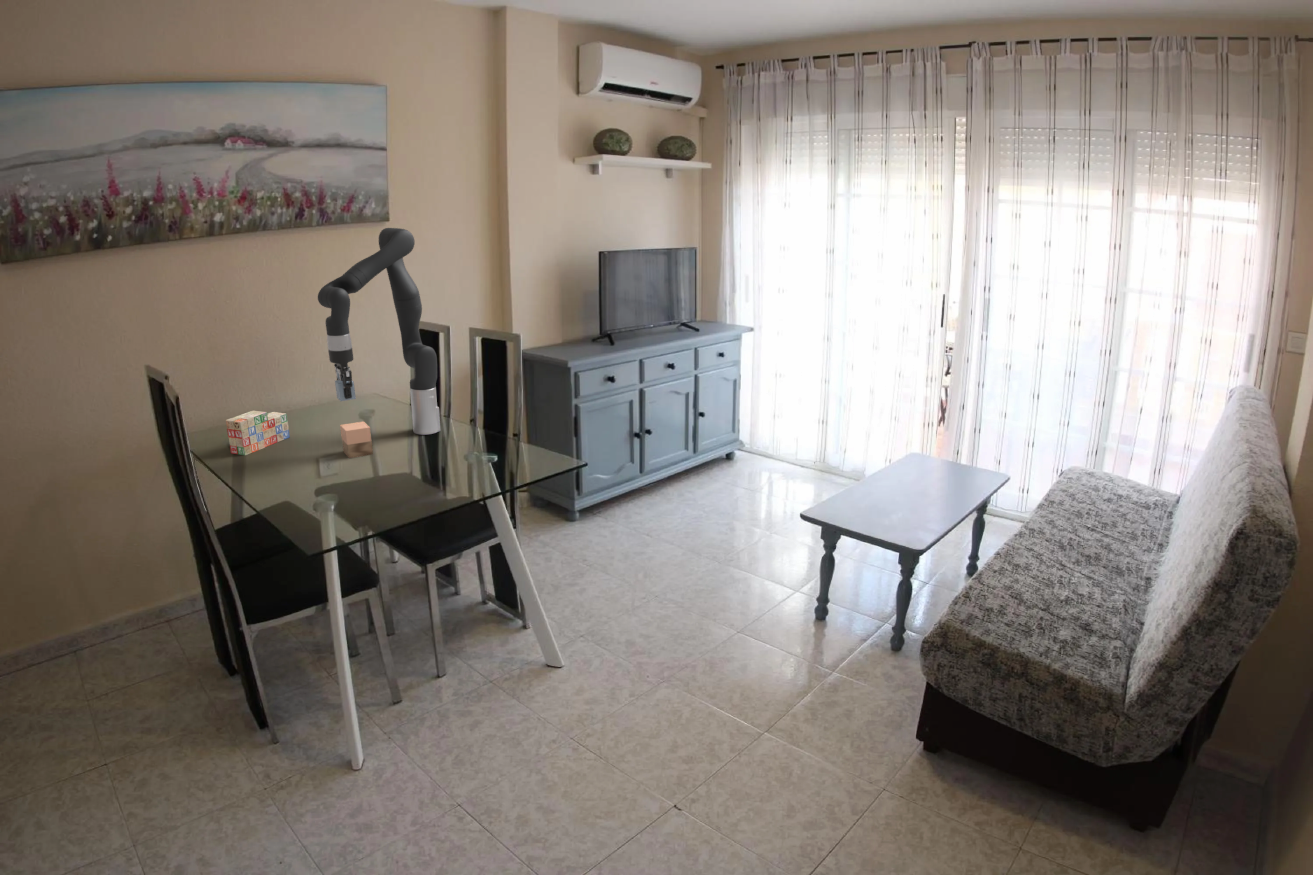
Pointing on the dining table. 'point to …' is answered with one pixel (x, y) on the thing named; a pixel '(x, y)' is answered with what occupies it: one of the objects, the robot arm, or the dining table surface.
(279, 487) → the dining table surface
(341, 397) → the slate block
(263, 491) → the dining table surface
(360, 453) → the tower base
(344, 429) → the tower top
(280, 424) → the stack of blocks
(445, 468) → the dining table surface
